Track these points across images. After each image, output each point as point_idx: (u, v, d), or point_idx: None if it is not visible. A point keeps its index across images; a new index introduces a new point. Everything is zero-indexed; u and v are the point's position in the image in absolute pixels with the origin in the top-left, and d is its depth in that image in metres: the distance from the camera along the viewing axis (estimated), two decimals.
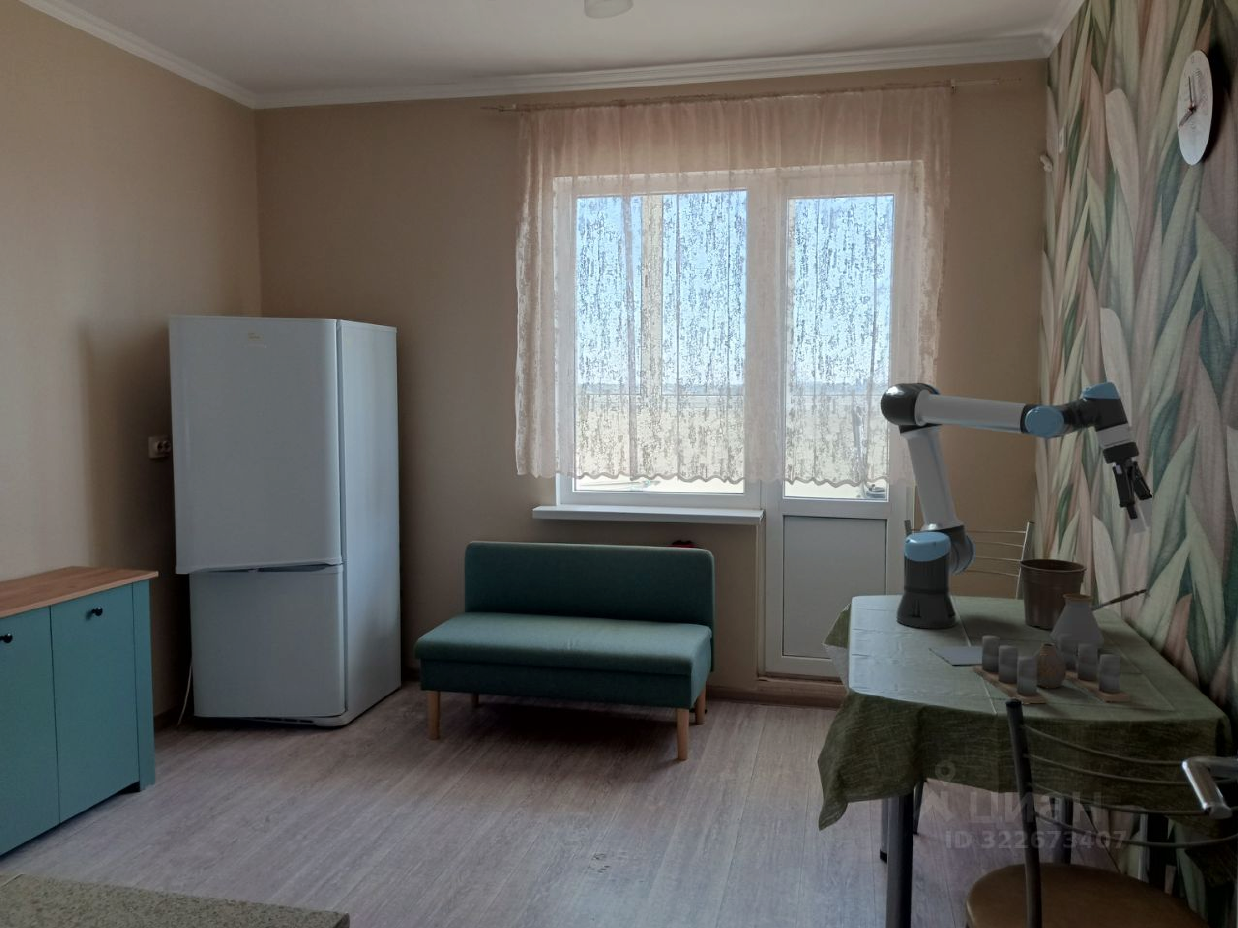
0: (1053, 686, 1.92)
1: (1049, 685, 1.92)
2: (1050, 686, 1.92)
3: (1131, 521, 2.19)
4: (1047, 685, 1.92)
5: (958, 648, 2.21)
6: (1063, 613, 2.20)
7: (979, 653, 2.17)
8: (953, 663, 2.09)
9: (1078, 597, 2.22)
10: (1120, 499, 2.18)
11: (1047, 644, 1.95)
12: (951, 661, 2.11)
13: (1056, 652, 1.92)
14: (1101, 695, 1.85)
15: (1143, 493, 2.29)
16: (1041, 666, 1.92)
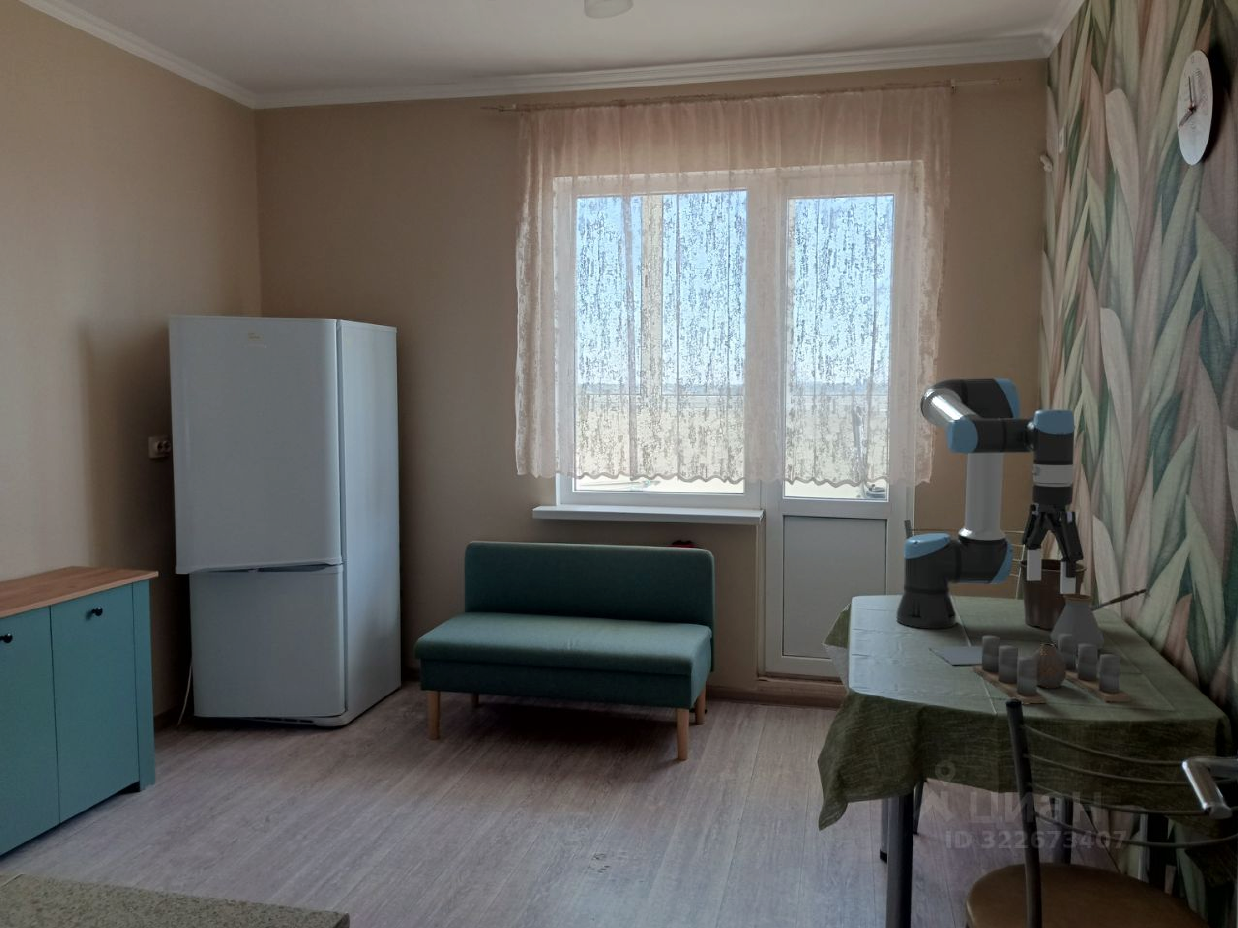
0: (1053, 686, 1.92)
1: (1049, 685, 1.92)
2: (1050, 686, 1.92)
3: None
4: (1047, 685, 1.92)
5: (958, 648, 2.21)
6: (1063, 613, 2.20)
7: (979, 653, 2.17)
8: (953, 663, 2.09)
9: (1078, 597, 2.22)
10: None
11: (1047, 644, 1.95)
12: (951, 661, 2.11)
13: (1056, 652, 1.92)
14: (1101, 695, 1.85)
15: None
16: (1041, 666, 1.92)
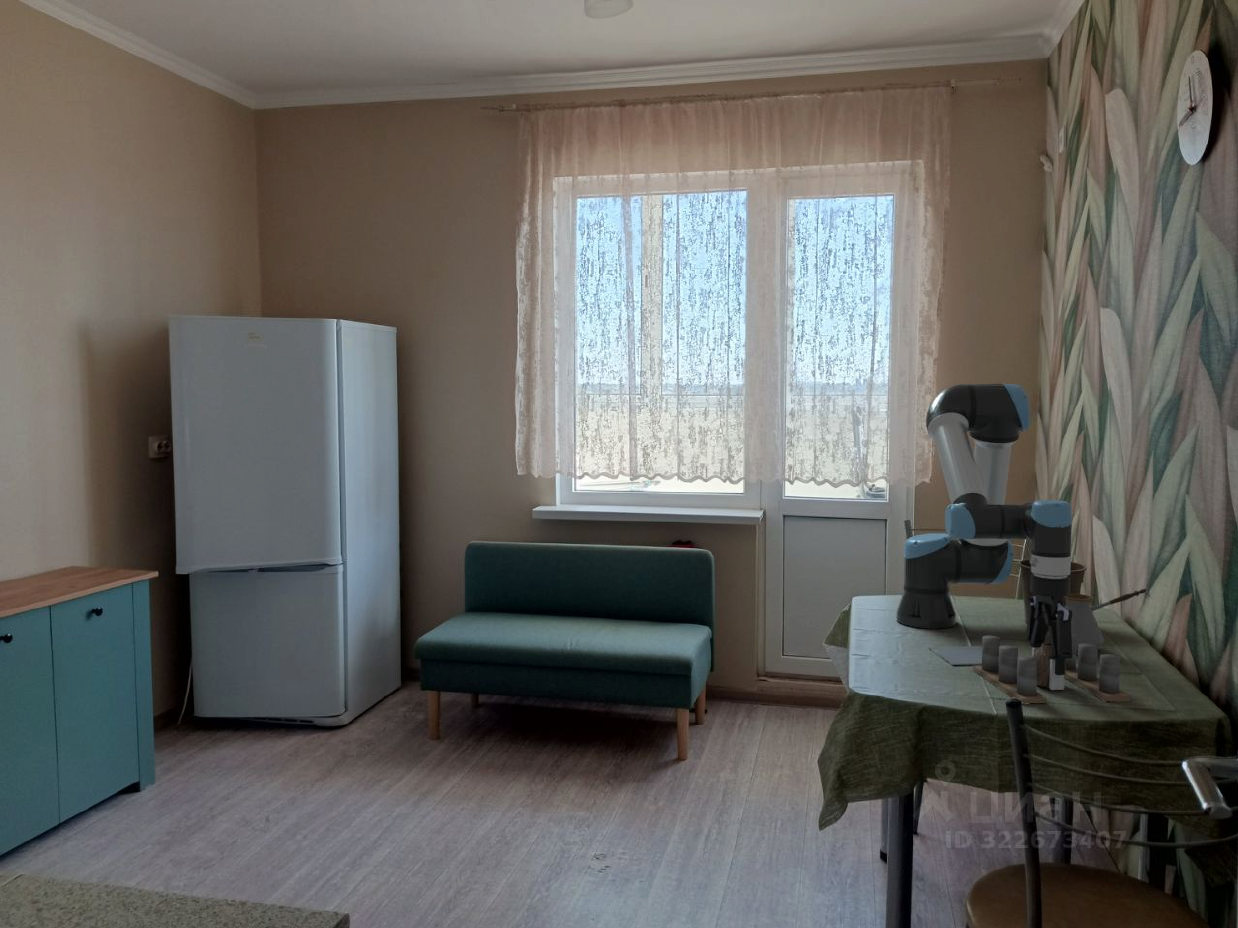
0: None
1: None
2: None
3: None
4: (1047, 685, 1.92)
5: (958, 648, 2.21)
6: None
7: (979, 653, 2.17)
8: (953, 663, 2.09)
9: (1078, 597, 2.22)
10: None
11: (1047, 644, 1.95)
12: (951, 661, 2.11)
13: None
14: (1101, 695, 1.85)
15: None
16: (1041, 666, 1.92)
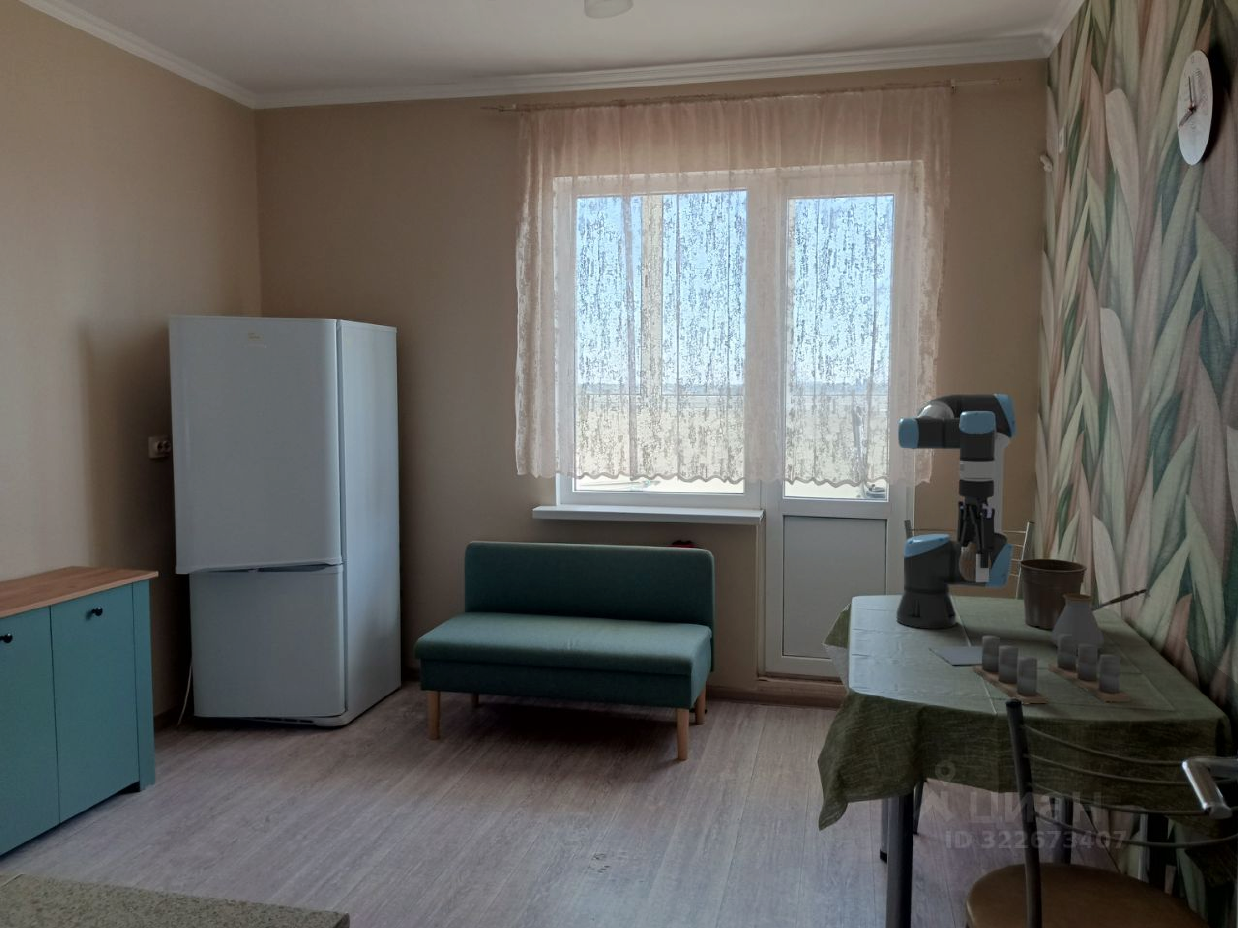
0: None
1: (975, 578, 2.11)
2: None
3: None
4: (973, 578, 2.12)
5: (958, 648, 2.21)
6: (1063, 613, 2.20)
7: (979, 653, 2.17)
8: (953, 663, 2.09)
9: (1078, 597, 2.22)
10: None
11: (974, 542, 2.14)
12: (951, 661, 2.11)
13: None
14: (1101, 695, 1.85)
15: None
16: (968, 561, 2.11)
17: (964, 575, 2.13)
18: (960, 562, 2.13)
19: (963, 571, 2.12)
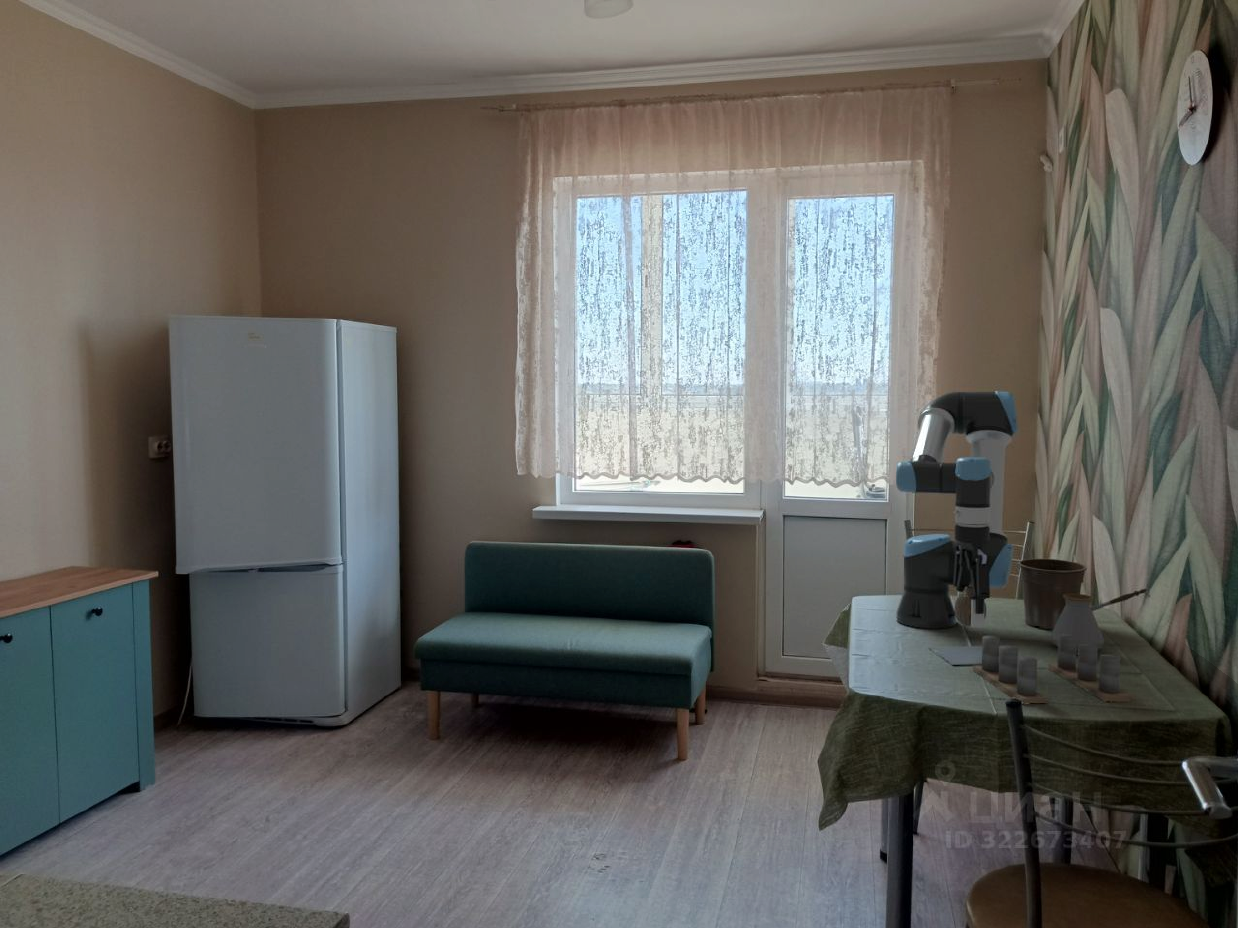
0: None
1: None
2: None
3: None
4: (969, 623, 2.13)
5: (958, 648, 2.21)
6: (1063, 613, 2.20)
7: (979, 653, 2.17)
8: (953, 663, 2.09)
9: (1078, 597, 2.22)
10: None
11: (970, 587, 2.16)
12: (951, 661, 2.11)
13: None
14: (1101, 695, 1.85)
15: None
16: (964, 606, 2.13)
17: (959, 620, 2.14)
18: (956, 607, 2.15)
19: (959, 616, 2.14)
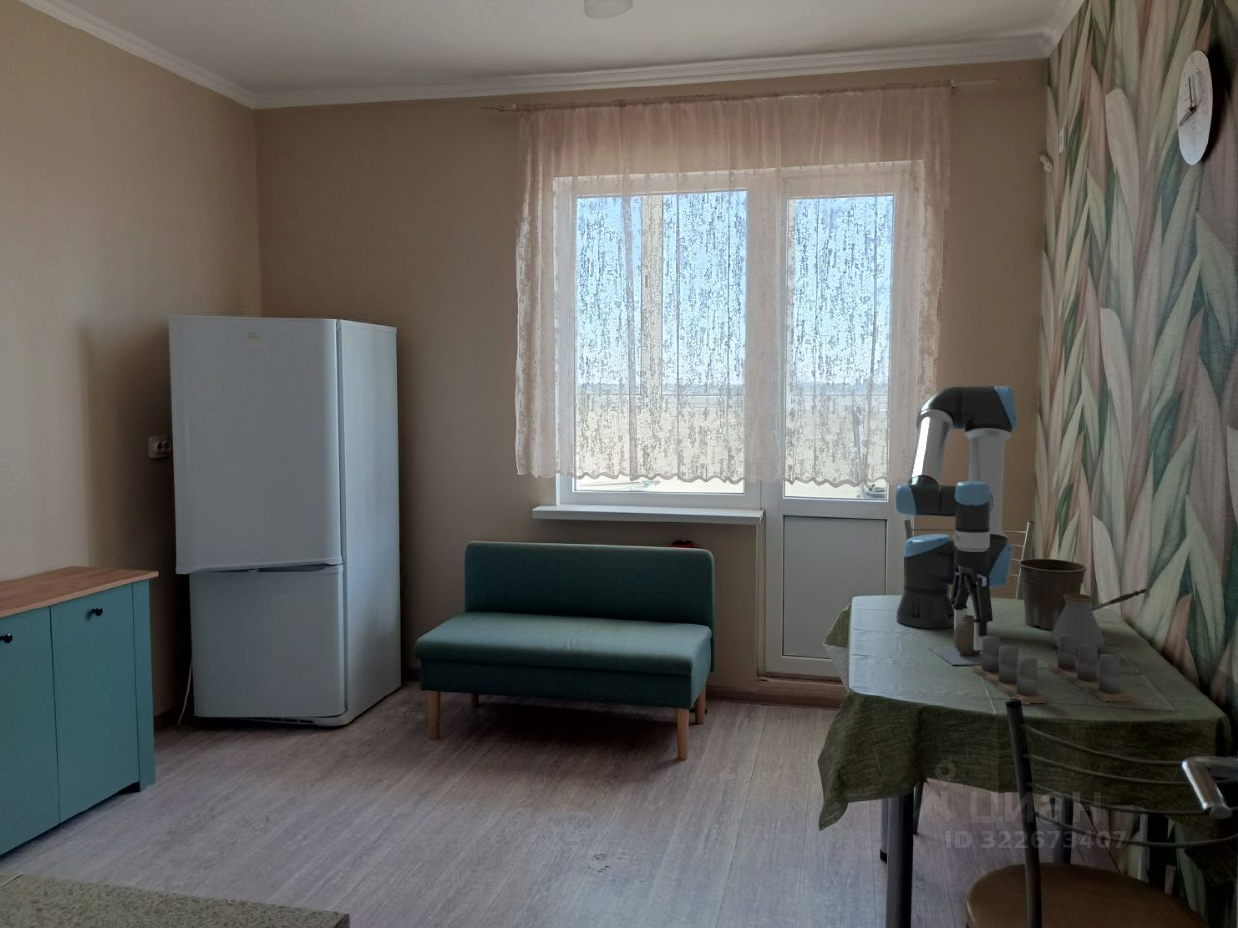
0: (974, 653, 2.13)
1: (970, 652, 2.13)
2: (971, 653, 2.14)
3: None
4: (968, 652, 2.13)
5: None
6: (1063, 613, 2.20)
7: (979, 653, 2.17)
8: (953, 663, 2.09)
9: (1078, 597, 2.22)
10: None
11: (967, 616, 2.17)
12: (951, 661, 2.11)
13: None
14: (1101, 695, 1.85)
15: None
16: (962, 635, 2.14)
17: (959, 649, 2.15)
18: (954, 636, 2.16)
19: (958, 645, 2.15)
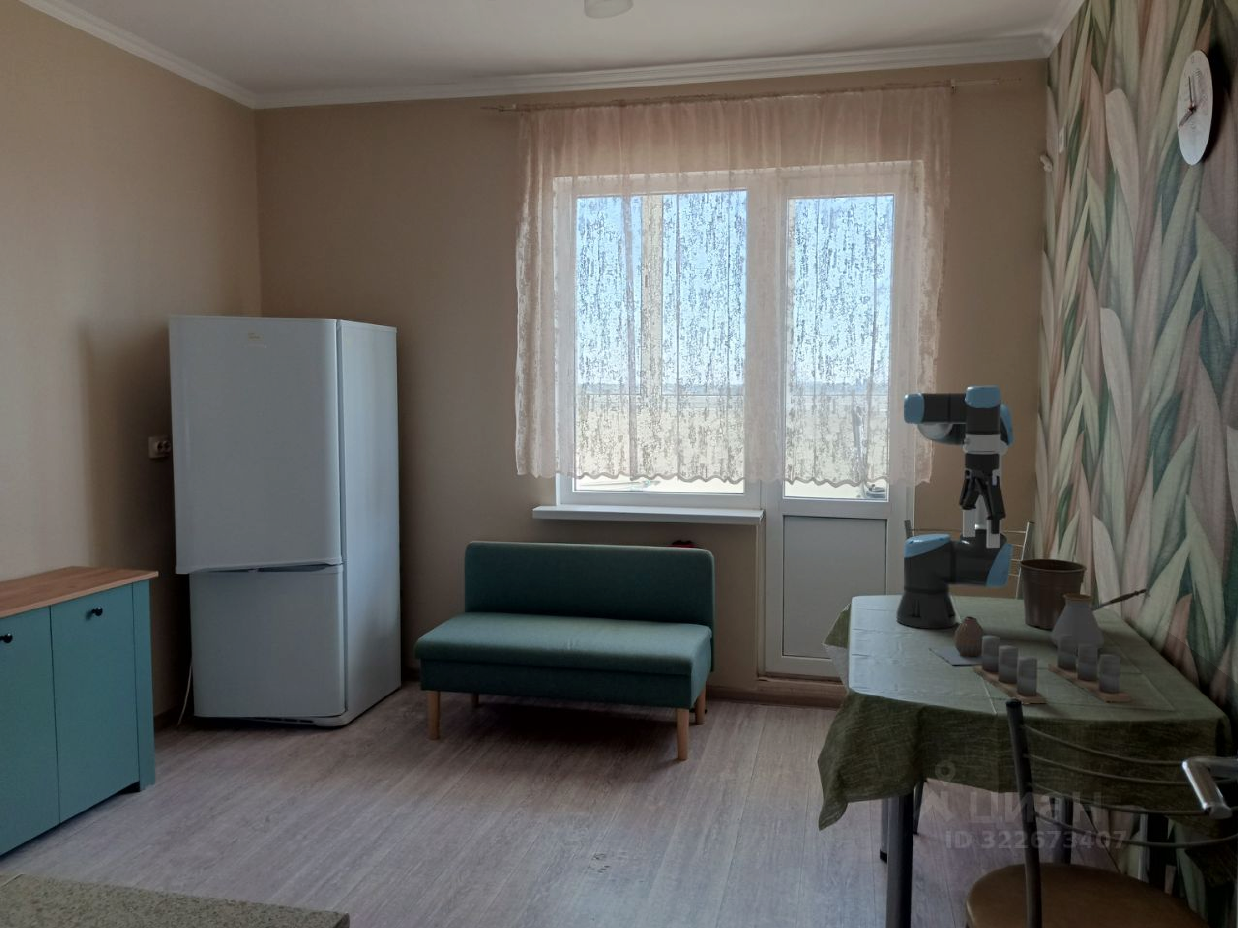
0: (974, 655, 2.13)
1: (970, 654, 2.13)
2: (971, 654, 2.13)
3: None
4: (968, 654, 2.13)
5: None
6: (1063, 613, 2.20)
7: None
8: (953, 663, 2.09)
9: (1078, 597, 2.22)
10: None
11: (970, 617, 2.16)
12: (951, 661, 2.11)
13: (976, 624, 2.14)
14: (1101, 695, 1.85)
15: None
16: (963, 636, 2.13)
17: (959, 650, 2.15)
18: (955, 637, 2.15)
19: (958, 646, 2.14)
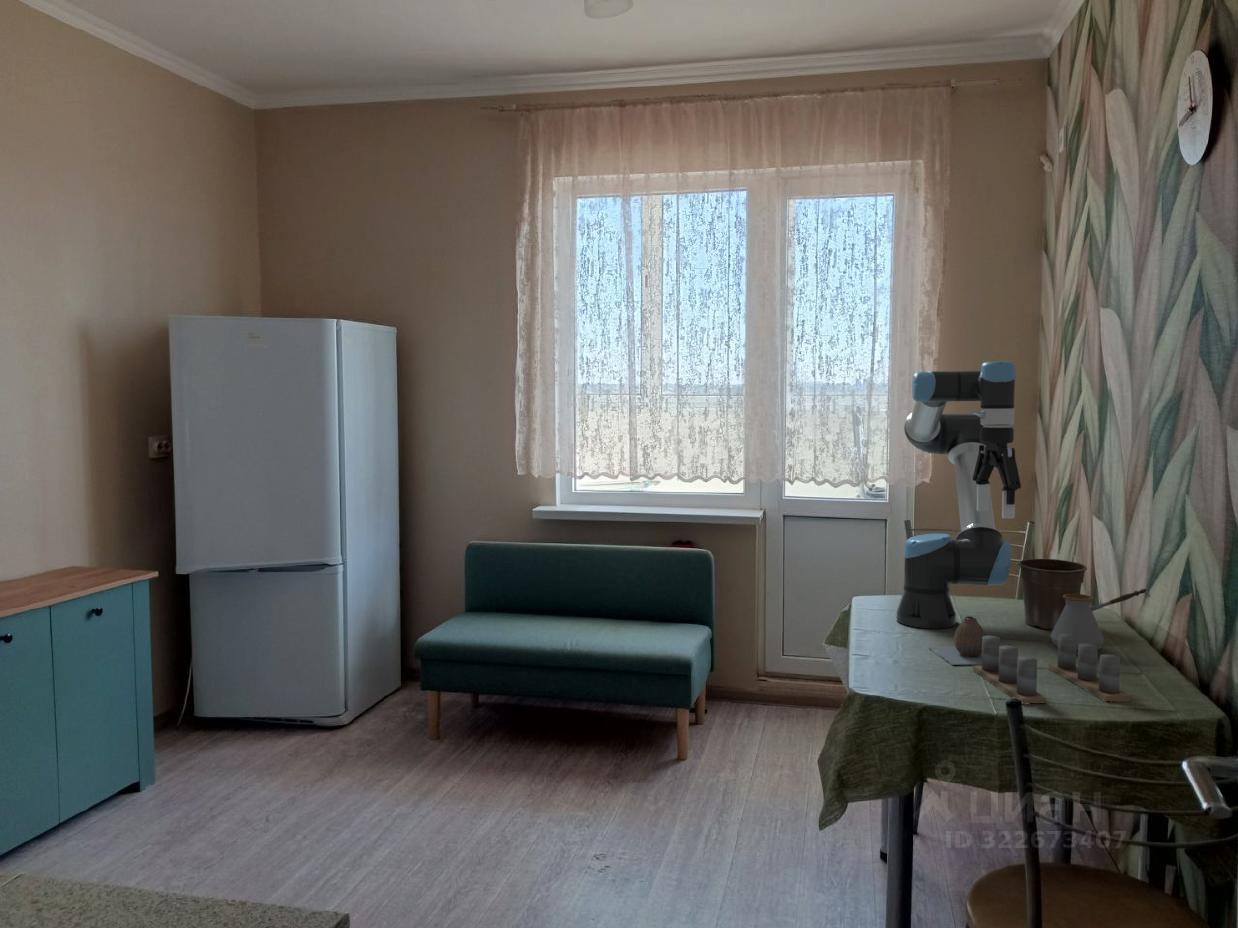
0: (974, 655, 2.13)
1: (970, 654, 2.13)
2: (971, 654, 2.13)
3: None
4: (968, 654, 2.13)
5: None
6: (1063, 613, 2.20)
7: None
8: (953, 663, 2.09)
9: (1078, 597, 2.22)
10: None
11: (970, 617, 2.16)
12: (951, 661, 2.11)
13: (976, 624, 2.14)
14: (1101, 695, 1.85)
15: None
16: (963, 636, 2.13)
17: (959, 650, 2.15)
18: (955, 637, 2.15)
19: (958, 646, 2.14)
